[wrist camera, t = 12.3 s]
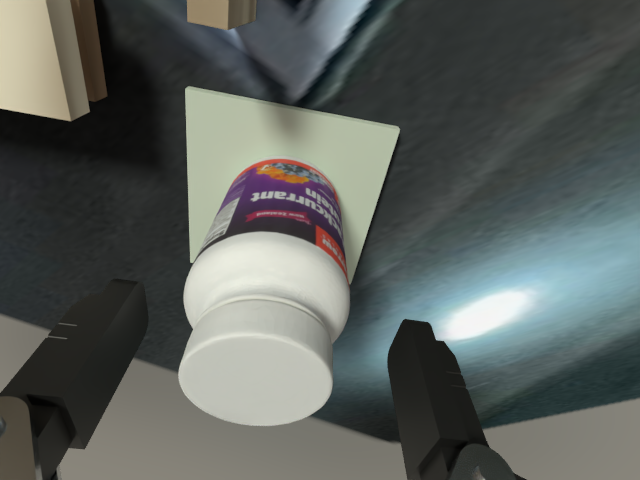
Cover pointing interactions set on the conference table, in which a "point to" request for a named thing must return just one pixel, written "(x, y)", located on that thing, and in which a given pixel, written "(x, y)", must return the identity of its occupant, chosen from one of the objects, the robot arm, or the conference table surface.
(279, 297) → the pill bottle
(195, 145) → the sage mat
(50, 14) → the offcut stack
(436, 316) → the conference table surface
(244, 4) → the enclosure
